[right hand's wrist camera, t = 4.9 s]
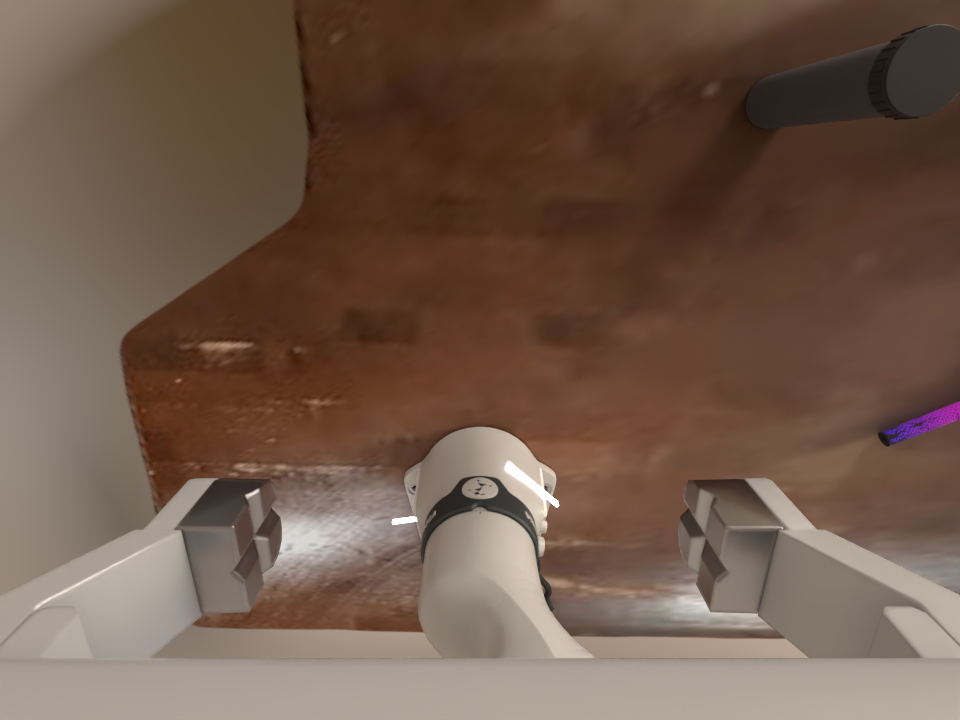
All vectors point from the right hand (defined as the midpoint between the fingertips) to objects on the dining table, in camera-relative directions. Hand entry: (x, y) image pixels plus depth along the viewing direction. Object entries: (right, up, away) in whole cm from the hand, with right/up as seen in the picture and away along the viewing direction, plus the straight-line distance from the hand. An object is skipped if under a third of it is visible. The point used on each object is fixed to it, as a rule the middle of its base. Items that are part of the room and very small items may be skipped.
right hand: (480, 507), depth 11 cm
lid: (+28, +21, +23) cm, 42 cm away
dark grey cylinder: (+28, +28, +41) cm, 57 cm away
